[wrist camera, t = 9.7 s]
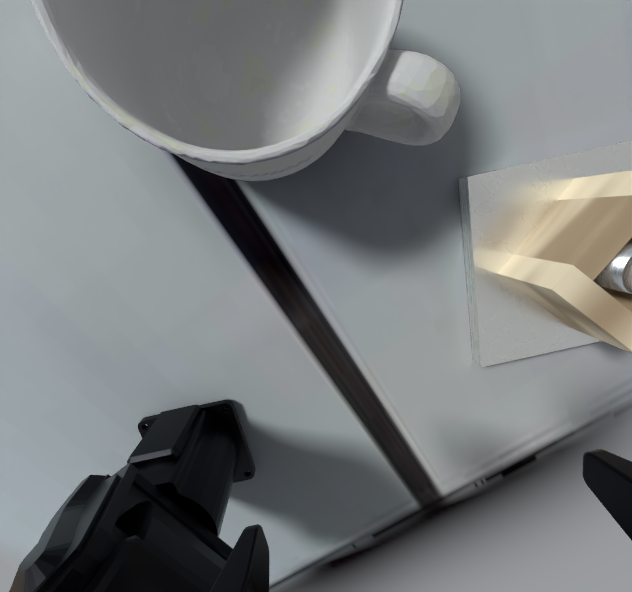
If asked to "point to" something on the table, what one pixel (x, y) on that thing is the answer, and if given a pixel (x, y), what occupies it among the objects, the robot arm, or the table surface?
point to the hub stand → (507, 236)
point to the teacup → (251, 77)
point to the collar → (580, 258)
